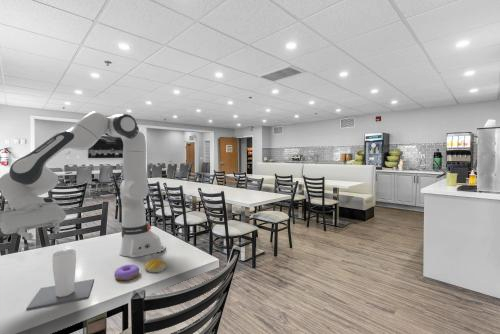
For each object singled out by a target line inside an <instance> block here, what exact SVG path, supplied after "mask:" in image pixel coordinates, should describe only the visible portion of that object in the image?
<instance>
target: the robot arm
mask: <svg viewBox="0 0 500 334" xmlns="http://www.w3.org/2000/svg"><path fill="white" fill-rule="evenodd" d="M137 123H138V122H137V121H136V119H135V117H134V116H132V115H131V114H127V113H119V114H113V115H111V116H108V117H106V116H105V115H104V114H102V113H100V112H97V111H92V112H91V111H90V112H89V113H88V114H86V115H85V116H83V117H82V118H81V119H79V120H78V121H77V122H76V123H75V124H74V125H73V126H72V127H70V128H69V129H67V130H61V131H59V132H58V133H55V134H54V135H53V136H51V137H50V138H48V139H47V140H46V141H44V142H43V143H42V144H41V145H39V146H37V147H36V148H35V149H34V150H32V151H31V152H29V153H28V154H26V155H23V156H22V157H20V158H18V159H17V160H15V161H14V162H13V163H12V164H11V166H9V167H10V168H9V172H7V173H5V174H3V175H1V177H0V193H1V195H2V197H3V198H4V200H5V201H7V203H8V207H9V209H7V210H1V211H0V231H1V233H2V234H4V235H7V236H8V235H12V234H15V233H17V234H18V235H19V236H21V237H23V238H24V239H25V241H30V240H32V239H33V237H34V236H33V233H32V232H29V233H28V232H27V231H29V230H35V229H38V228H43V227H47V226H51V225H52V226H53V227H54V228H53V229H52V231H53V232H54V234H57V233H60V232H61V227H60V224H61V223H63V222H64V221H65V219H66V218H67V214H66V212H65V210H64V209H63V208H62V206H61V205H59V204H58V203H56V202H57V200H56V199H55V198H49V197H42V196H41V195H44V194H46V193H49V192H51V191H52V190H54V189H55V188H56V187H57V186H58V184H59V181H60V180H59V176H58V174H57V173H56V172H54V171H53V170H51V169H50V168H49V167H47V166H46V165H47V163H48V162H49V161H51V160H52V159H53V158H54V157H55V156H57V155H59V153H61V152H62V151H64V150H66V149H73V150H75V151H88V150H89V149H91V148H92V147H93V146H94V145H95V144H96V143H97V142H98V141H99V140H100V139H101V138H102V137H103V136H104V135H105V136H107V137H110V138H120V139H121V141H122V144H123V147H122V170H123V178H124V179H123V180H122V181H121V183H120V186H119V191H120V203H121V209H122V214H121V216H122V218H121V219H122V225H121V231H120V232H121V235H120V236H121V245H120V250H119V253H118V254H119V255H120V256H122V257H130V258H132V259H133V258H139V257H144V256H150V255H153V254H157V252H159V253H161V251H163V250H164V249H165V250H166V245H165V244H164V243H163V242H161V238H160V236H159V235H158V234H157V233H155V232H153V230H151V229H152V227H151V225H150V224H149V223H146V207H145V202H144V199H145V198H146V197H147V196H148V195H149V191H150V188H149V183H148V182H149V181H148V174H147V142H146V137H145V134H144V133H143V132H142V131H140V130H139V129H140V128H139V127H138V124H137ZM165 250H164V251H165ZM164 251H163V252H164Z"/></svg>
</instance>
